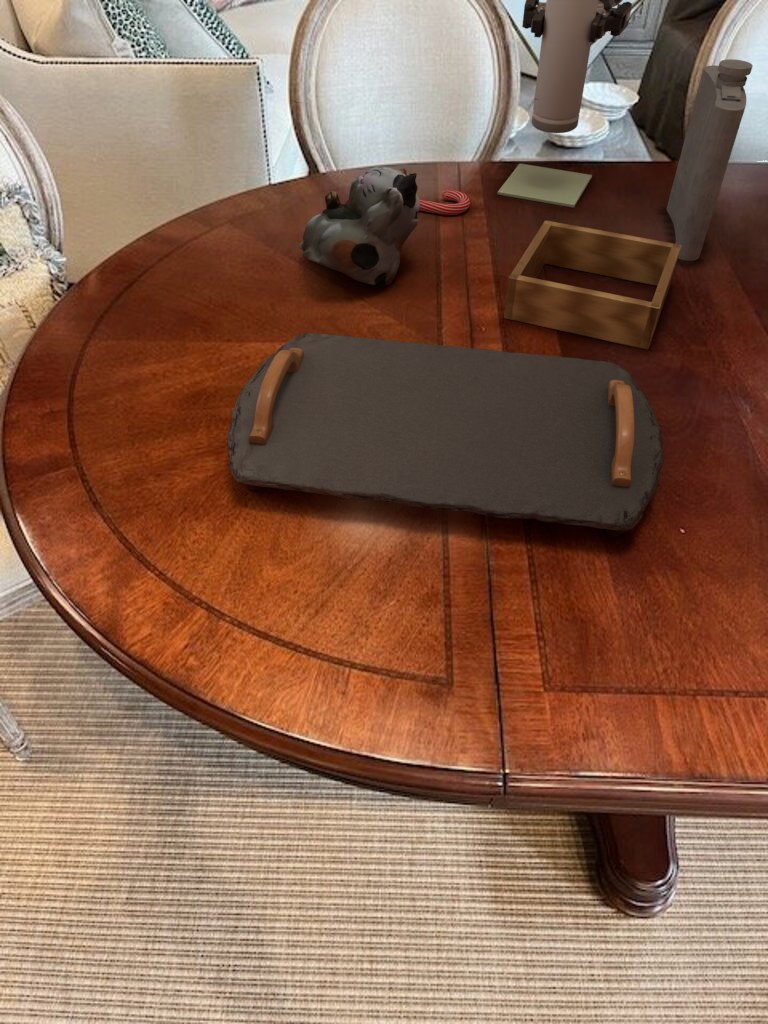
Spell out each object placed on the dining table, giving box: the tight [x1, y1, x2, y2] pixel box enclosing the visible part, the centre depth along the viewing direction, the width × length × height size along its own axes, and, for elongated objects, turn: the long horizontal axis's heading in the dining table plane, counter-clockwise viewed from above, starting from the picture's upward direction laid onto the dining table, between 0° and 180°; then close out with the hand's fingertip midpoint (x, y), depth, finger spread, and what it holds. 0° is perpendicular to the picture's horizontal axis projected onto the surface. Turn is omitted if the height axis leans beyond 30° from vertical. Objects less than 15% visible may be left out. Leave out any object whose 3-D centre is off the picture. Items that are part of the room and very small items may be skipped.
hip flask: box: [666, 58, 754, 262], centre depth 95 cm, size 16×4×20 cm, turn 169°
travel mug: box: [531, 0, 598, 134], centre depth 100 cm, size 6×7×20 cm
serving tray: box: [226, 332, 665, 537], centre depth 70 cm, size 39×23×6 cm, turn 80°
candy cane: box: [419, 189, 471, 216], centre depth 108 cm, size 6×15×2 cm, turn 68°
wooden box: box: [503, 220, 682, 350], centre depth 88 cm, size 16×15×5 cm
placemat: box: [496, 163, 593, 208], centre depth 112 cm, size 11×11×1 cm
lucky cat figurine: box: [298, 166, 421, 288], centre depth 92 cm, size 15×12×14 cm
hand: (565, 30), depth 97 cm, fingers closed on travel mug, 6 cm apart
